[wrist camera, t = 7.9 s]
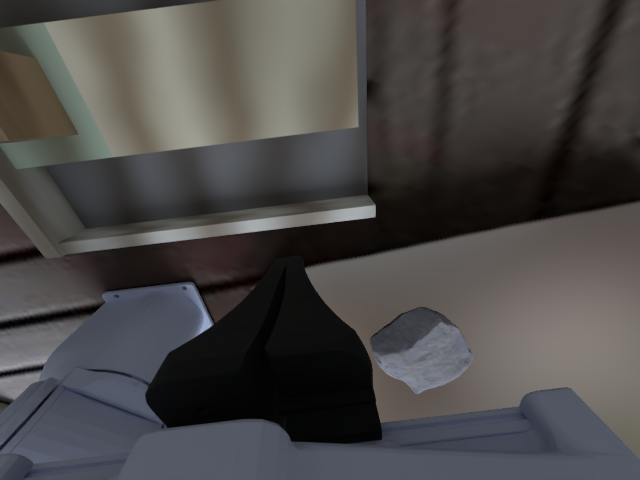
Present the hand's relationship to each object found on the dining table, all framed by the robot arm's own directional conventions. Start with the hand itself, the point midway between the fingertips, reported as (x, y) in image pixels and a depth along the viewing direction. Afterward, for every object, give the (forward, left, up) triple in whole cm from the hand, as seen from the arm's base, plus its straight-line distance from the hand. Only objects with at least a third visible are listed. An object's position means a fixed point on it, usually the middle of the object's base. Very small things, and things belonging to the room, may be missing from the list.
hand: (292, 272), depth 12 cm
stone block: (+13, -20, -10) cm, 26 cm away
